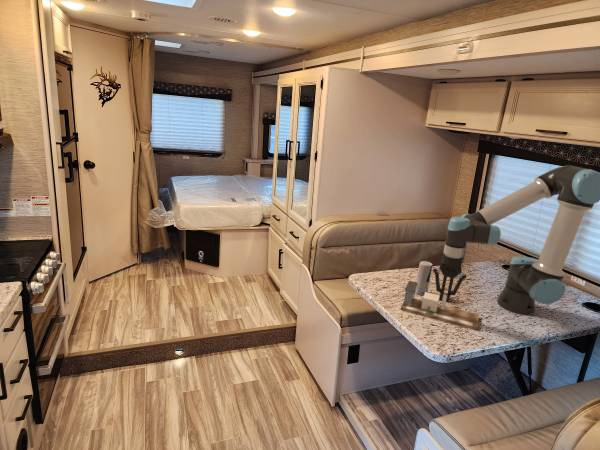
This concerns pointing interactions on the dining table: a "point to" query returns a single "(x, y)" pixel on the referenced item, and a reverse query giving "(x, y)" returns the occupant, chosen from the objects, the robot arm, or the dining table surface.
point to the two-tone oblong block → (410, 293)
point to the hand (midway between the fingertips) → (442, 308)
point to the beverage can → (423, 277)
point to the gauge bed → (445, 314)
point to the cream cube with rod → (430, 302)
